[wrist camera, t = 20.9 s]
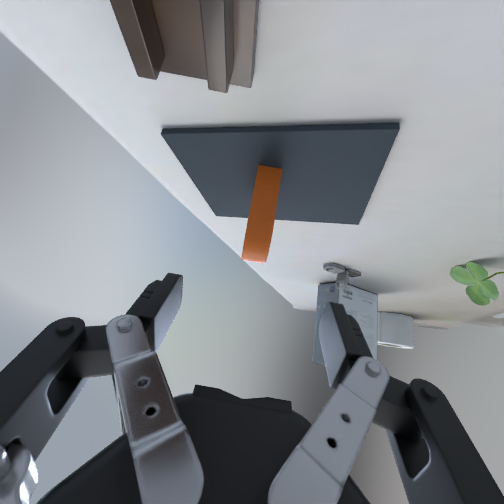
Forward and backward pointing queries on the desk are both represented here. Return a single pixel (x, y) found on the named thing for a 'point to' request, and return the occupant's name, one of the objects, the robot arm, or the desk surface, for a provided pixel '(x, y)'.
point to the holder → (191, 38)
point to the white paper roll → (395, 330)
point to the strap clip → (341, 274)
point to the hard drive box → (356, 305)
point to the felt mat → (287, 167)
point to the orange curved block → (262, 214)
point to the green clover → (476, 283)
